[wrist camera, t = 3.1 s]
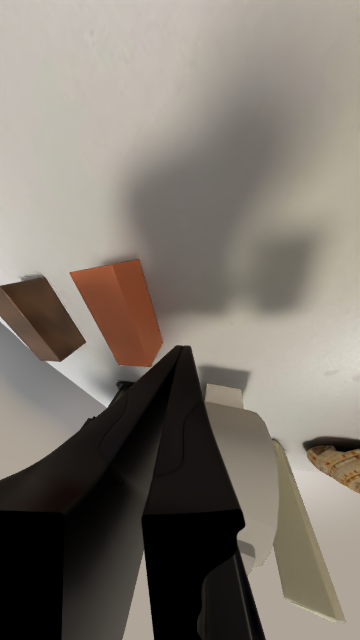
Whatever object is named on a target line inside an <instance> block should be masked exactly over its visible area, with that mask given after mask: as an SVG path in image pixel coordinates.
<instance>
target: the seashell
mask: <svg viewBox="0 0 360 640" xmlns="http://www.w3.org/2000/svg"><path fill="white" fill-rule="evenodd" d="M307 456H308V459H309V461H310V462H311V463H312V464H313V465H314V466H315V467H316V468H317V469H319V470H320V471H322V472H323V473H325V474H327V475H329V476H330V477H333V478H334V479H335V480H336V481H338V482H339V483H341V484H343V485H345V486H347V487H348V488H350V489H351V490H353V491H355V492H357V493H360V449H355V450H351V451H347V452H344V453H343V452H340V451H336V449H335V447H334V446H331V445H328V446H324V445H322V446H320V445H319V446H315V447H313V448H311V449H309V451H308V453H307Z"/></svg>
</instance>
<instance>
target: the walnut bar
mask: <svg viewBox="0 0 360 640" xmlns="http://www.w3.org/2000/svg"><path fill="white" fill-rule="evenodd" d="M0 316H1V318H2V319H3V320H4V321H5V322H6V323H7V324H8V325H9V326H10V328H11V329H12V330H13V331H14V332H15V333H16V334H17V335H18V336H19V337H20V339H21V340H22V341H23V342H24V343H25V344H26V345H27V346H28V347H29V348H30V350H31V351H32V352H33V353H34V354H35V355H36V356H37V357H38V358H39V359H40V360H41V361H58V362H61V361H62V360H64V359H65V358H66V357H68V356H69V355H70V354H72V353H73V352H74V351H75V350H77V349H78V348H79V347H81V346H82V345H83V344H85V343H86V342H85V340H84V339H83V337H82V335H81V334H80V332H79V331H78V329H77V328H76V326H75V324H74V323H73V321H72V320H71V318H70V316H69V315H68V313H67V312H66V310H65V309H64V307H63V305H62V304H61V302H60V301H59V299H58V297H57V296H56V294H55V293H54V291H53V290H52V288H51V286H50V285H49V283H48V282H47V280H46V278H45V277H43V278H38V279H33V280H28V281H22V282H17V283H12V284H7V285H2V286H0Z"/></svg>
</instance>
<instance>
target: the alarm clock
mask: <svg viewBox="0 0 360 640" xmlns="http://www.w3.org/2000/svg"><path fill="white" fill-rule="evenodd" d="M204 402H205V406H206V410H207V413H208V417H209V420H210V424H211V427H212V430H213V433H214V436H215V439H216V442H217V445H218V447H219V450H220V453H221V455H222V458H223V461H224V463H225V466H226V469H227V471H228V474H229V477H230V479H231V482H232V485H233V488H234V490H235V493H236V496H237V498H238V501H239V504H240V506H241V509H242V512H243V515H244V519H245V523H246V525H245V527H244V528H243V529H242V530H240V531H239V533H238V535H237V543H238V546H239V550H240V553H241V557H242V560H243V564H244V567H245V570H246V574H247V576H248V574H249V573H250V572H251V571H252V568H253V567H257V566H261V565H263V563H264V562H265V560H266V559H267V557H268V556H269V554H270V553H271V549H272V546H273V542H274V538H275V534H276V530H277V522H278V509H279V484H278V469H277V462H276V457H275V452H274V448H273V443H272V439H271V436H270V434H269V432H268V429H267V427H266V424H265V422H264V421H263V420H262V418H261V417H260V416H259V415H258V414H257V413H255V412H252V411H249V410H244V409H243V399H242V392H241V389H236V388H231V387H225V386H219V385H214V384H208V383H207V388H206V396H205V401H204Z"/></svg>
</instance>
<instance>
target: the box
mask: <svg viewBox="0 0 360 640" xmlns="http://www.w3.org/2000/svg"><path fill="white" fill-rule="evenodd" d="M272 443H273V448H274V452H275V457H276V462H277V469H278V484H279V509H278V522H277V530H276V534H275V538H274V542H273V546H274V551H275V556H276V560H277V565H278V570H279V574H280V579H281V584H282V589H283V594H284V598H285V600H287V601H288V602H290V603H292V604H294V605H296V606H298V607H301V608H303V609H305V610H307V611H310V612H312V613H314V614H316V615H318V616H321V617H323V618H324V619H327V620H329V621H332V622H334V623H339V624H345V623H346V620H345V618H344V615H343V612H342V609H341V606H340V603H339V600H338V598H337V595H336V592H335V589H334V586H333V583H332V581H331V578H330V575H329V572H328V570H327V567H326V564H325V562H324V559H323V556H322V553H321V550H320V547H319V545H318V542H317V539H316V537H315V534H314V531H313V528H312V525H311V523H310V520H309V517H308V514H307V511H306V509H305V506H304V503H303V500H302V498H301V495H300V493H299V490H298V487H297V484H296V481H295V479H294V476H293V473H292V470H291V467H290V465H289V462H288V459H287V456H286V453H285V452H284V450H283V449H282V447H281V446H280V445H279V443H278V442H277V441H273V440H272Z"/></svg>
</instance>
